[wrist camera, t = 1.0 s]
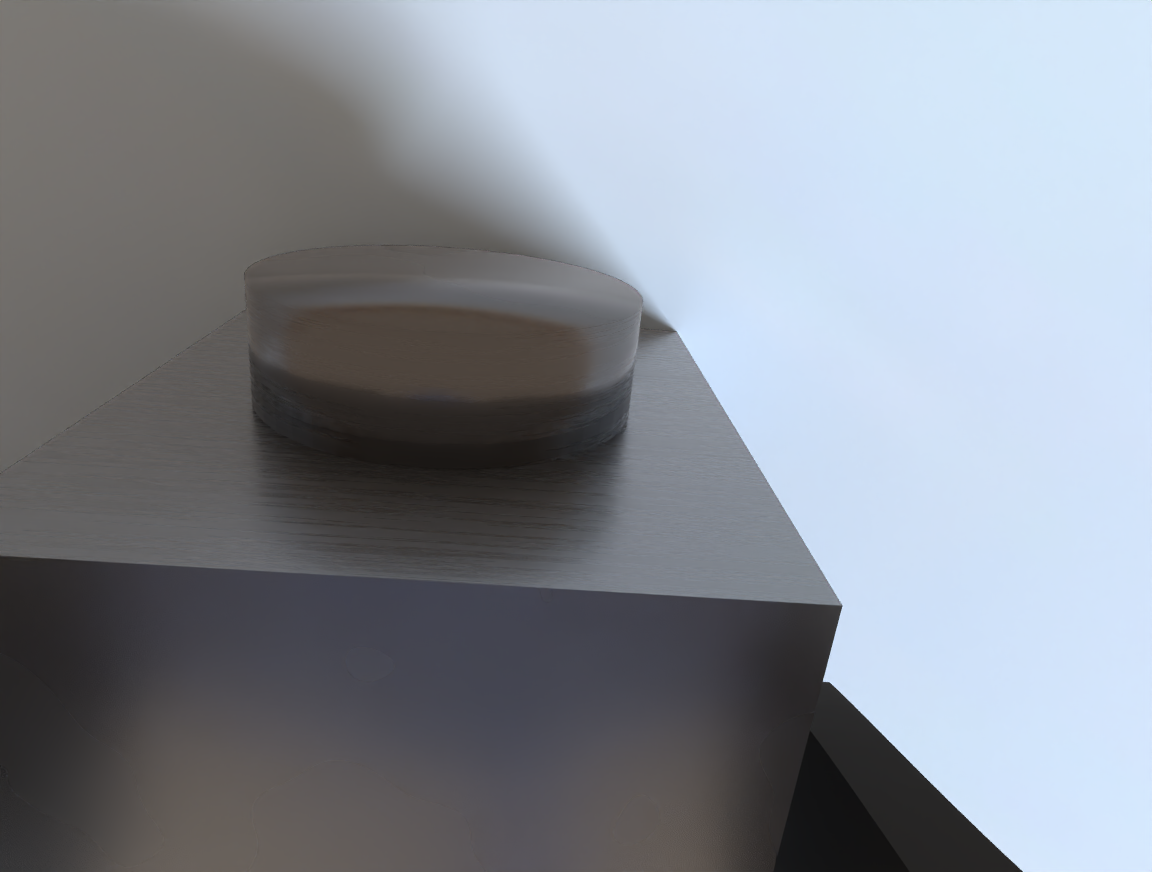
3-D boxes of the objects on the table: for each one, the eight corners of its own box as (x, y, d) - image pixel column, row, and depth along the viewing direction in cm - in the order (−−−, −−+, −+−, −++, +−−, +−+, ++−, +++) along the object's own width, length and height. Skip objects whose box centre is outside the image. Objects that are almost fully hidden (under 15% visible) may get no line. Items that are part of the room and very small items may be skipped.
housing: (606, 807, 13) (653, 1332, 7) (292, 795, 13) (95, 1336, 7) (687, 248, 10) (886, 439, 4) (263, 210, 9) (-163, 360, 4)
